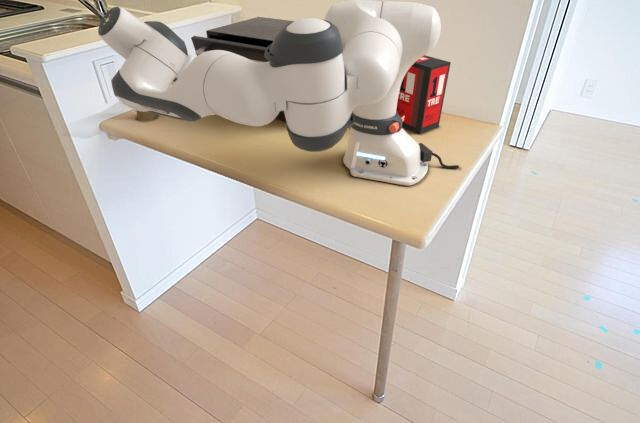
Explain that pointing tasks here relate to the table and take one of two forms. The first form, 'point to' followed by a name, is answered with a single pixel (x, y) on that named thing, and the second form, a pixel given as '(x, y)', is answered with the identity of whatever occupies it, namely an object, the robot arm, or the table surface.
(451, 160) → the table surface
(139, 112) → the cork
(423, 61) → the cleaning product box
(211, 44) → the oven door
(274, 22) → the oven
